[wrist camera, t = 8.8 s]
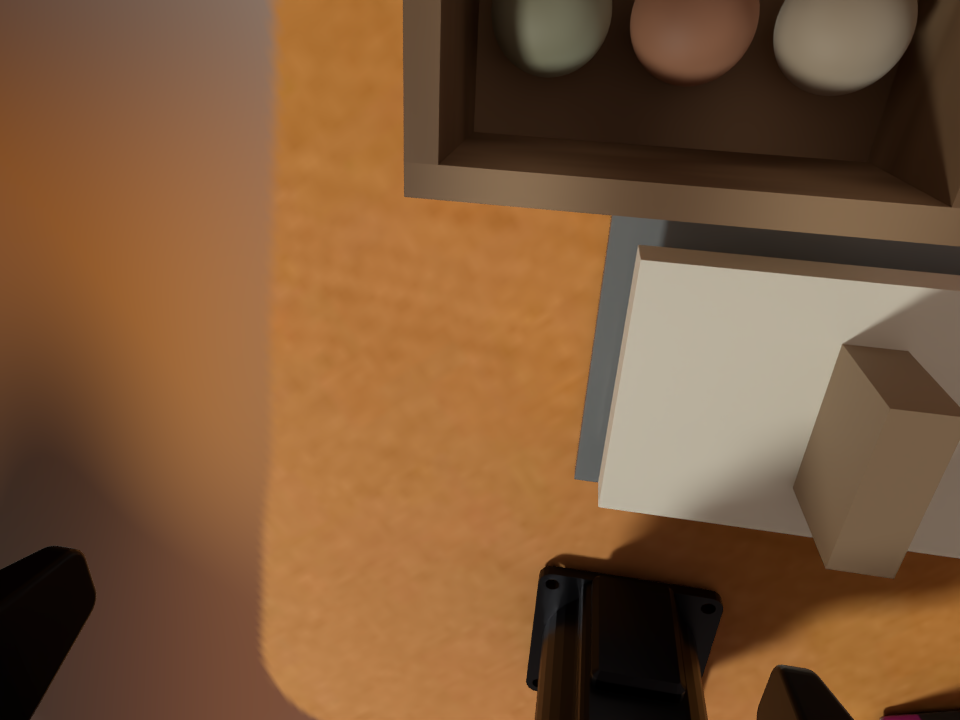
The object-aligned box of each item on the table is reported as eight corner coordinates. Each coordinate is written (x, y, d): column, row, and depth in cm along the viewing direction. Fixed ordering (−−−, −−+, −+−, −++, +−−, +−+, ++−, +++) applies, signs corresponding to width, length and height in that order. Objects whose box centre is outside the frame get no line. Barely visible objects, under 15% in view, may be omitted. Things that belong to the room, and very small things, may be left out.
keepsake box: (992, -160, 13) (1183, -244, 9) (878, 187, 17) (978, 247, 12) (460, -171, 15) (401, -250, 10) (451, 152, 18) (404, 196, 14)
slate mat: (992, 526, 21) (1000, 537, 20) (574, 469, 22) (574, 479, 22) (1141, 250, 16) (1156, 256, 16) (613, 204, 18) (613, 208, 17)
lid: (1111, 278, 16) (1309, 379, 12) (985, 514, 20) (1100, 662, 15) (636, 233, 18) (649, 308, 13) (598, 462, 21) (598, 584, 17)
